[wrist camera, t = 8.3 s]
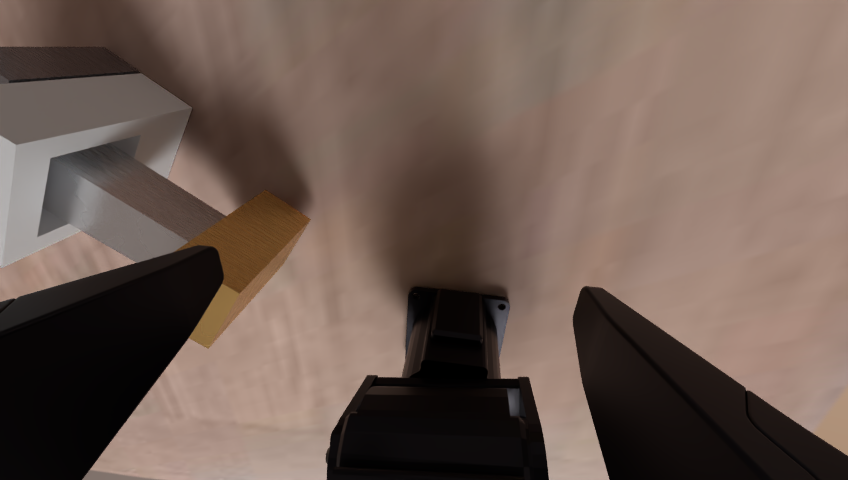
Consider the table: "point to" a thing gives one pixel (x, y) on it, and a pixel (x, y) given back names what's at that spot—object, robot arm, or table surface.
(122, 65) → the block
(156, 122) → the block
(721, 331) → the table surface
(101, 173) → the shaft
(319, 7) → the table surface
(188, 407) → the table surface
